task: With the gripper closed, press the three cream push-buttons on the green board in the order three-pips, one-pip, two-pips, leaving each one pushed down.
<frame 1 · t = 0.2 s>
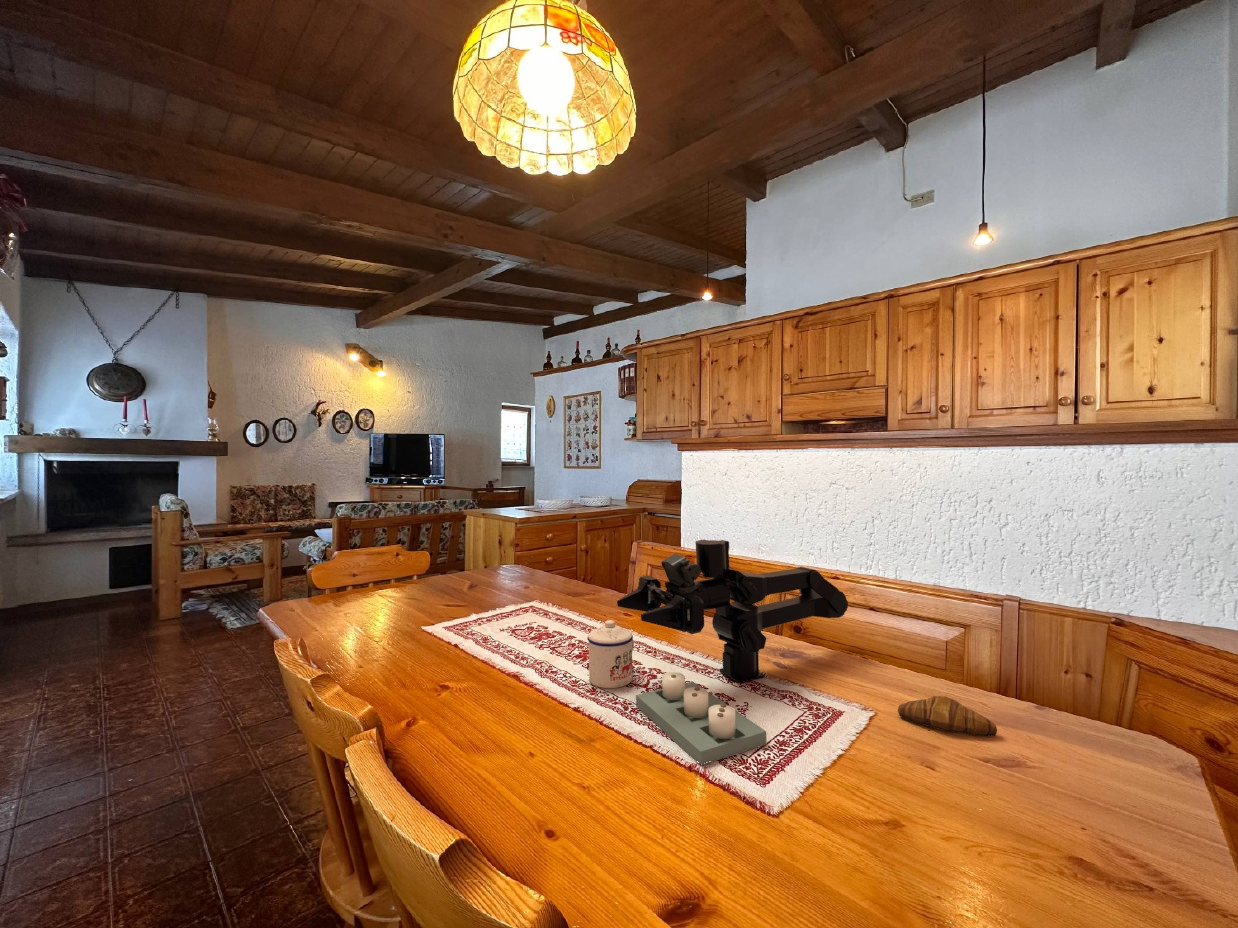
hand: (628, 610, 92), 17 cm above the table, tool horizontal, fingers open, 9 cm apart
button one: (673, 685, 91), point 4 cm above the table, slide at 0.0 cm
button three: (721, 720, 79), point 4 cm above the table, slide at 0.0 cm
button two: (696, 701, 85), point 4 cm above the table, slide at 0.0 cm
teacup with lid: (615, 677, 104), on the table
board: (696, 723, 85), on the table
croissant: (945, 728, 83), on the table
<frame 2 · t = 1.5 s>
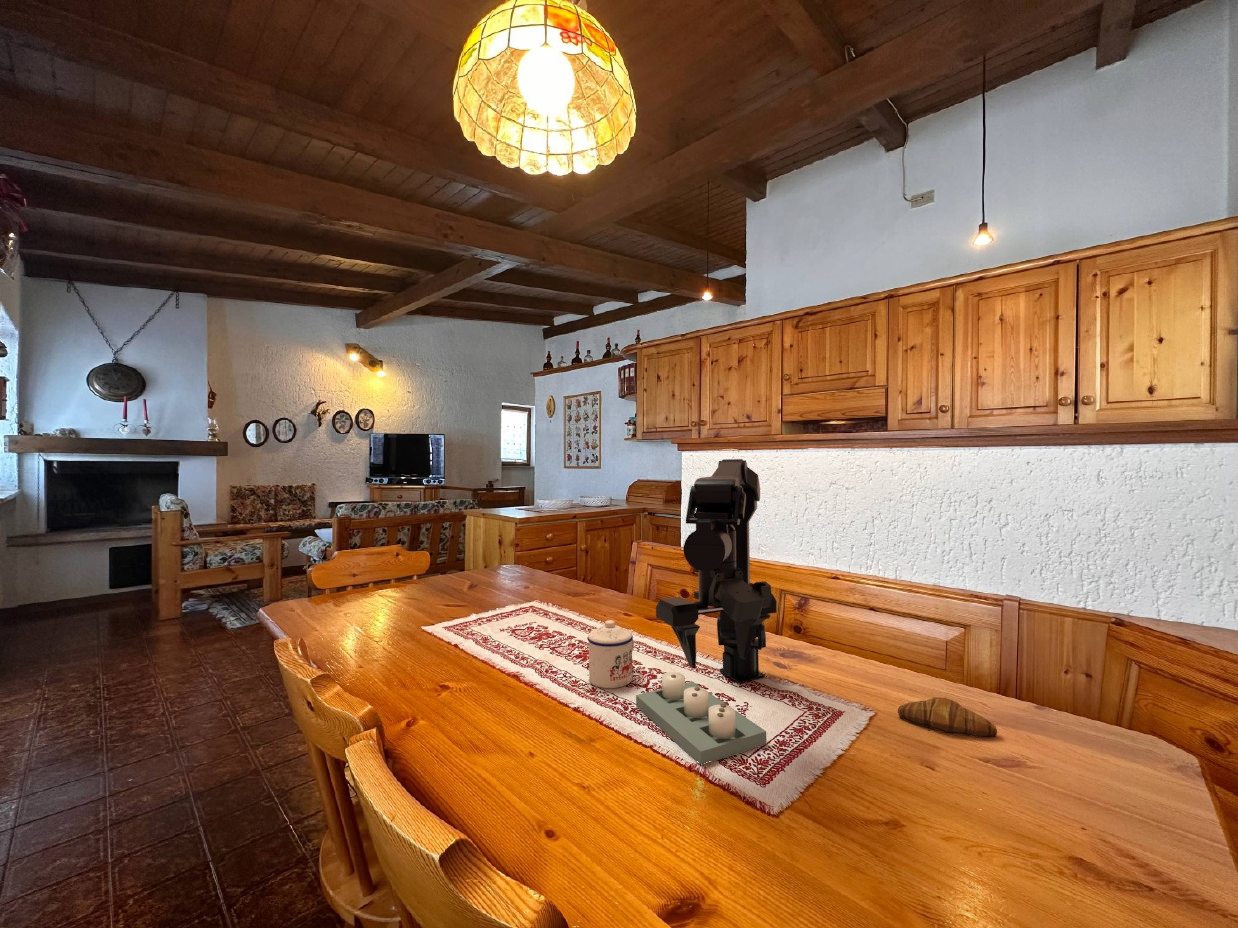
hand: (718, 662, 79), 12 cm above the table, tool pointing down, fingers open, 9 cm apart
nothing on the table moved.
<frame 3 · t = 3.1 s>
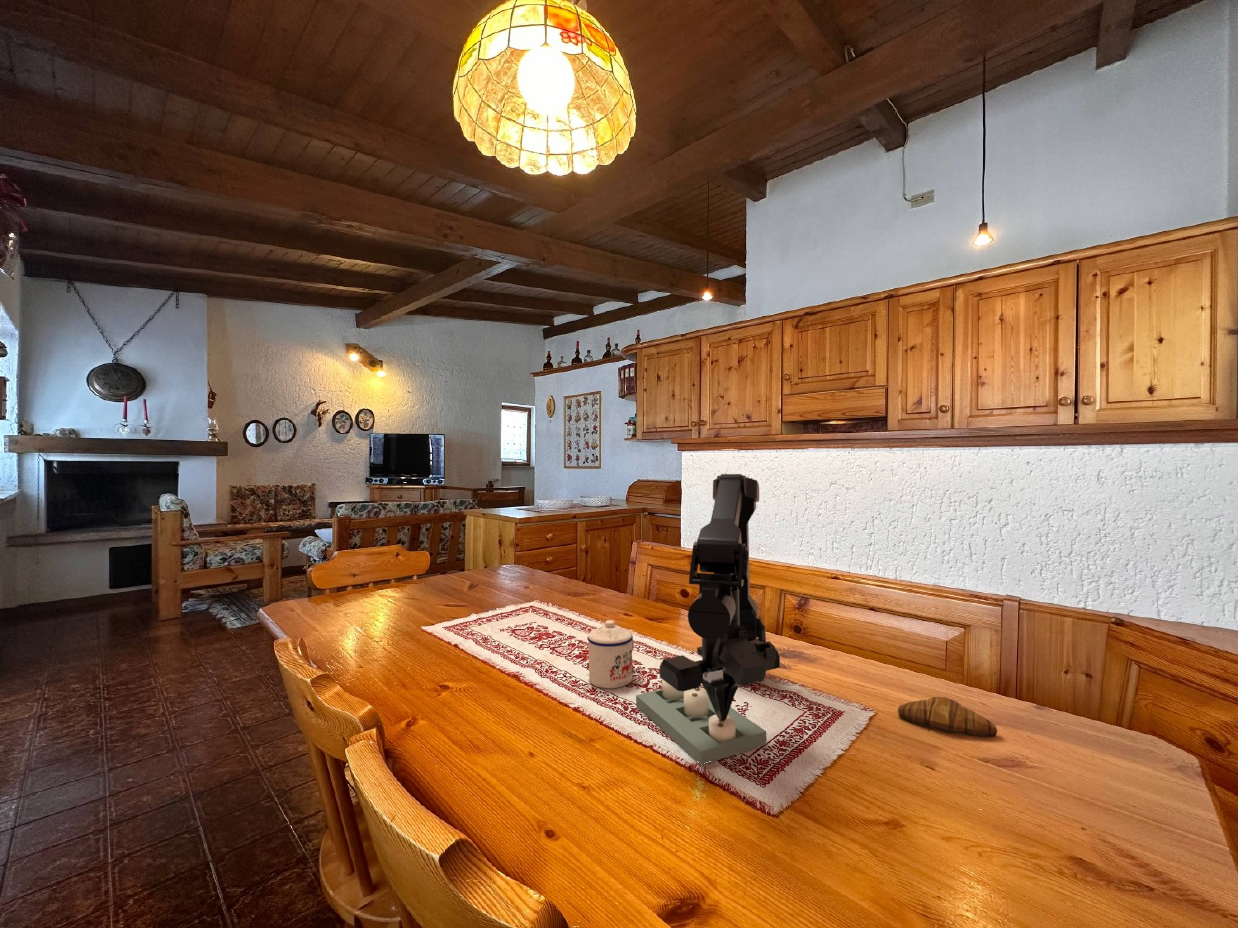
hand: (721, 719, 79), 4 cm above the table, tool pointing down, fingers closed, pressing on button three
button three: (722, 730, 79), point 2 cm above the table, slide at 1.5 cm, touching gripper
everything else where it was.
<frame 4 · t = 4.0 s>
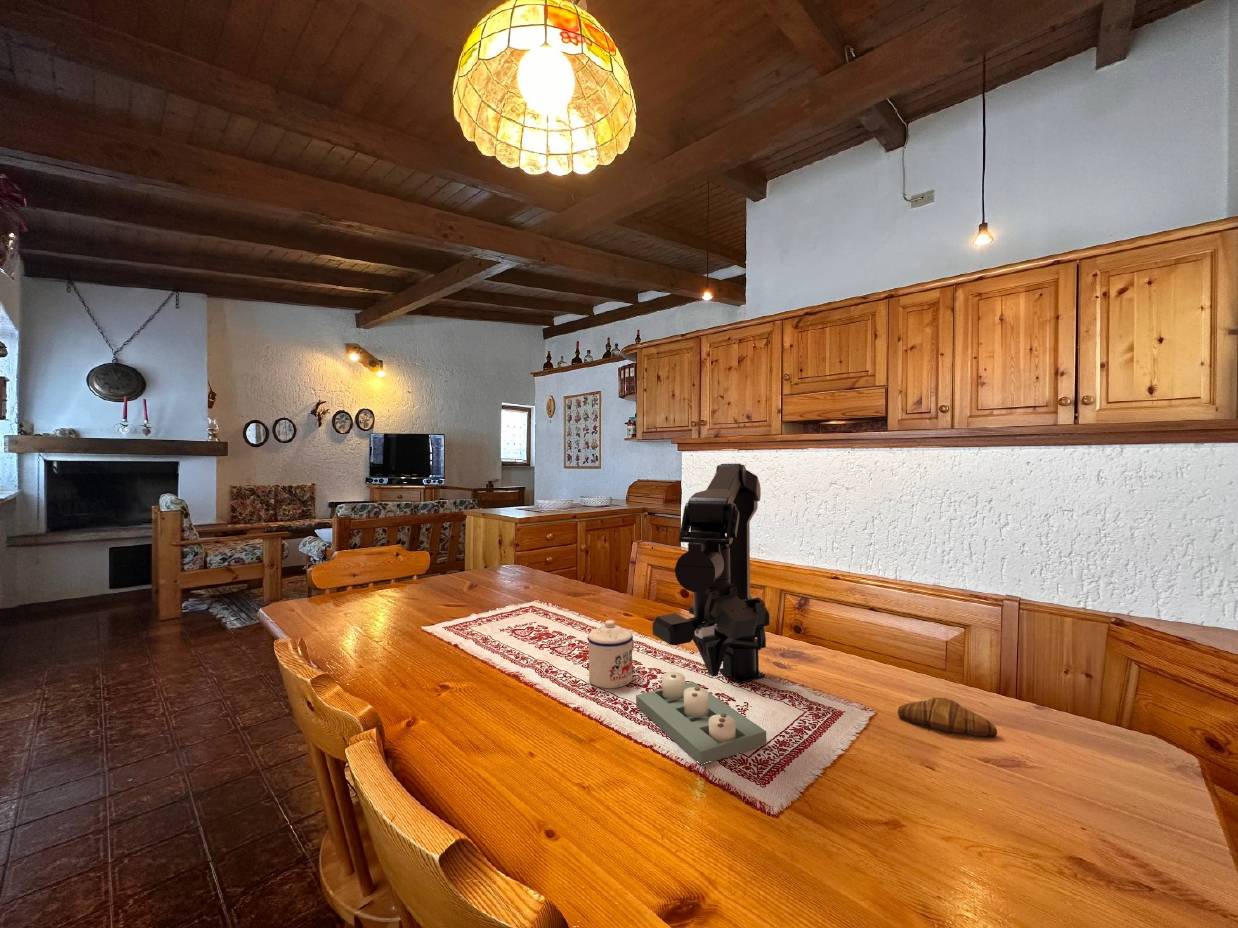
hand: (713, 675, 81), 10 cm above the table, tool pointing down, fingers closed
button three: (722, 730, 79), point 2 cm above the table, slide at 1.6 cm
everything else where it was.
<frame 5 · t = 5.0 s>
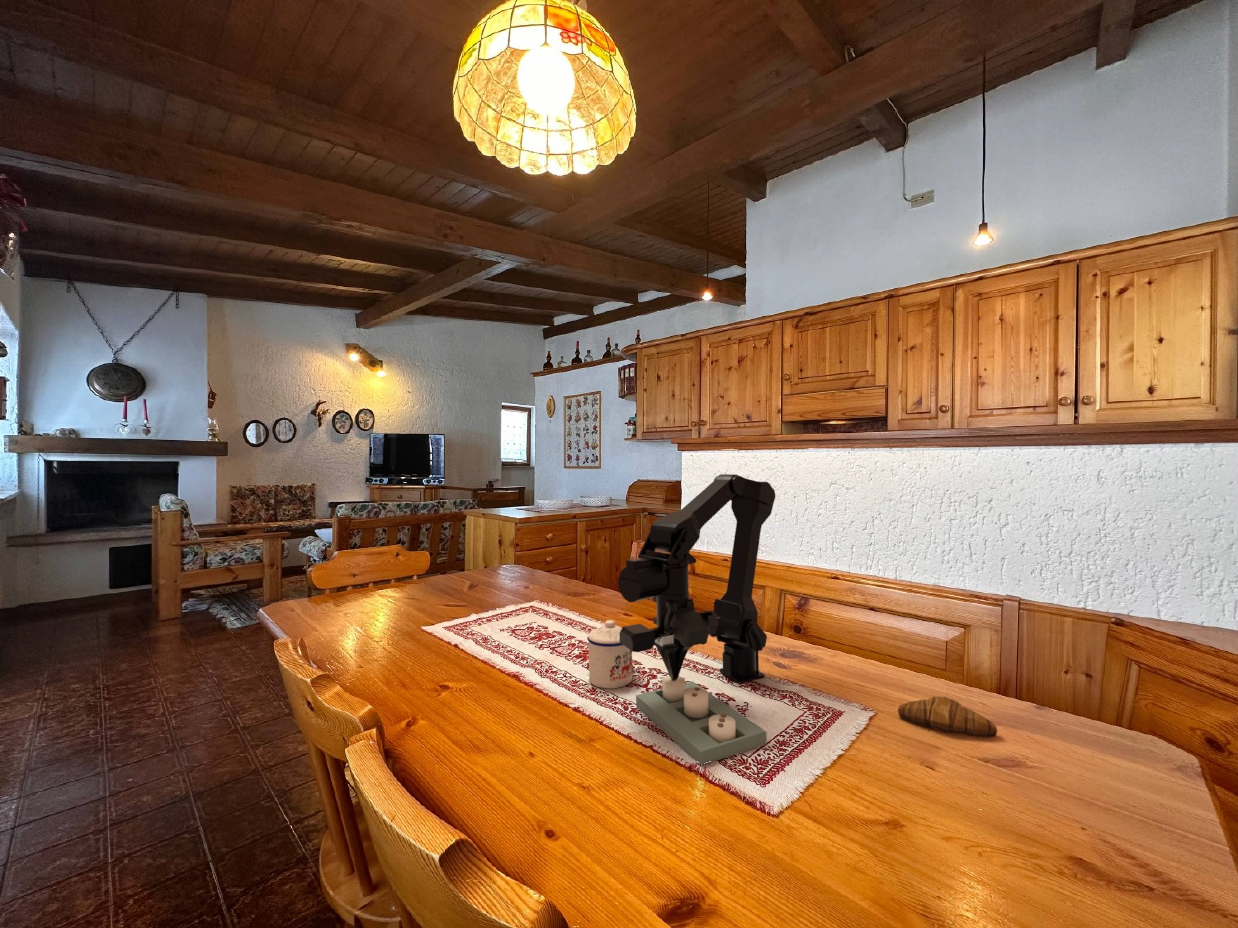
hand: (674, 678, 91), 5 cm above the table, tool pointing down, fingers closed, pressing on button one
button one: (673, 688, 91), point 3 cm above the table, slide at 0.6 cm, touching gripper
everything else where it was.
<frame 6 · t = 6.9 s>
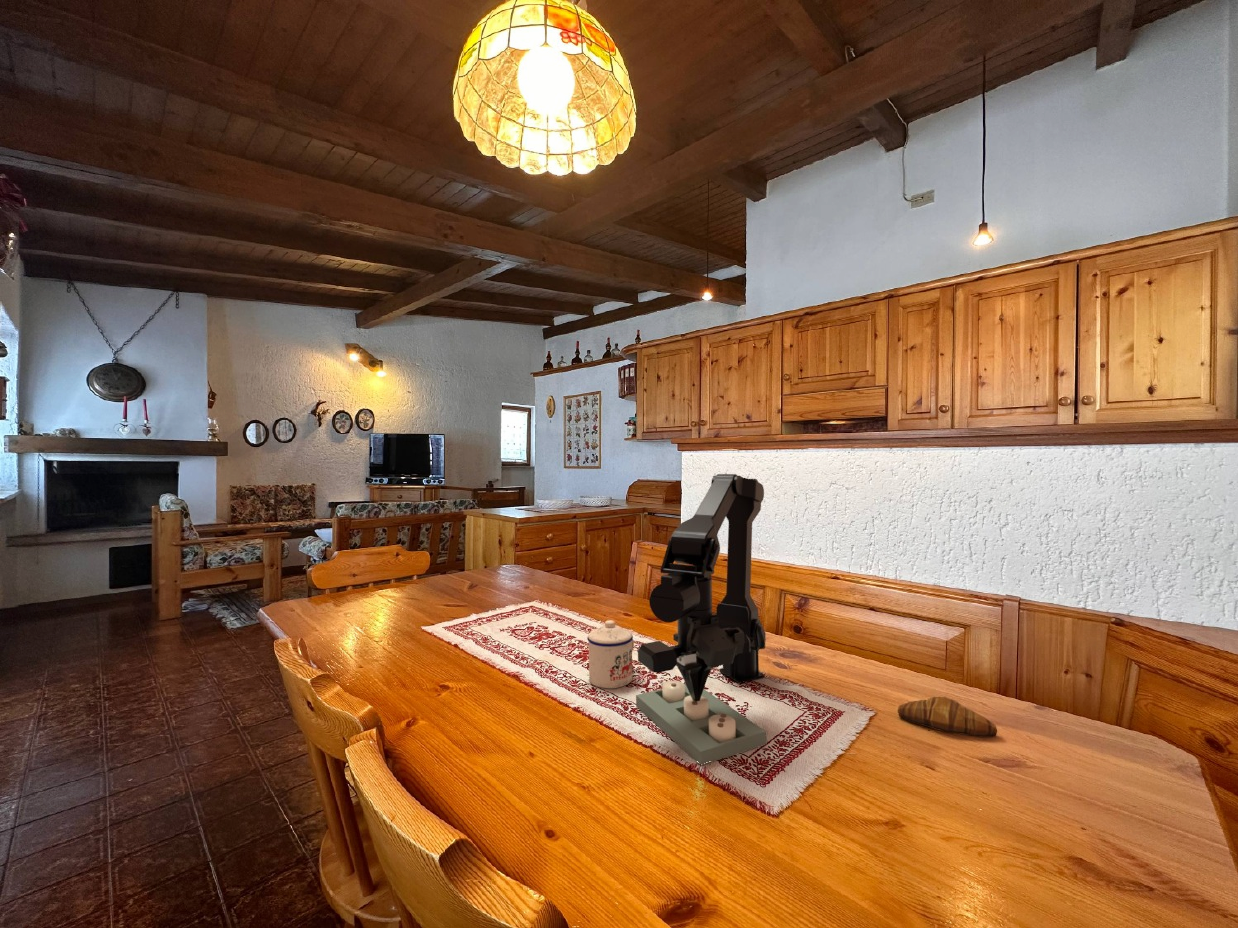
hand: (696, 700, 85), 4 cm above the table, tool pointing down, fingers closed, pressing on button two
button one: (673, 693, 91), point 2 cm above the table, slide at 1.6 cm
button two: (696, 709, 85), point 2 cm above the table, slide at 1.3 cm, touching gripper
everything else where it was.
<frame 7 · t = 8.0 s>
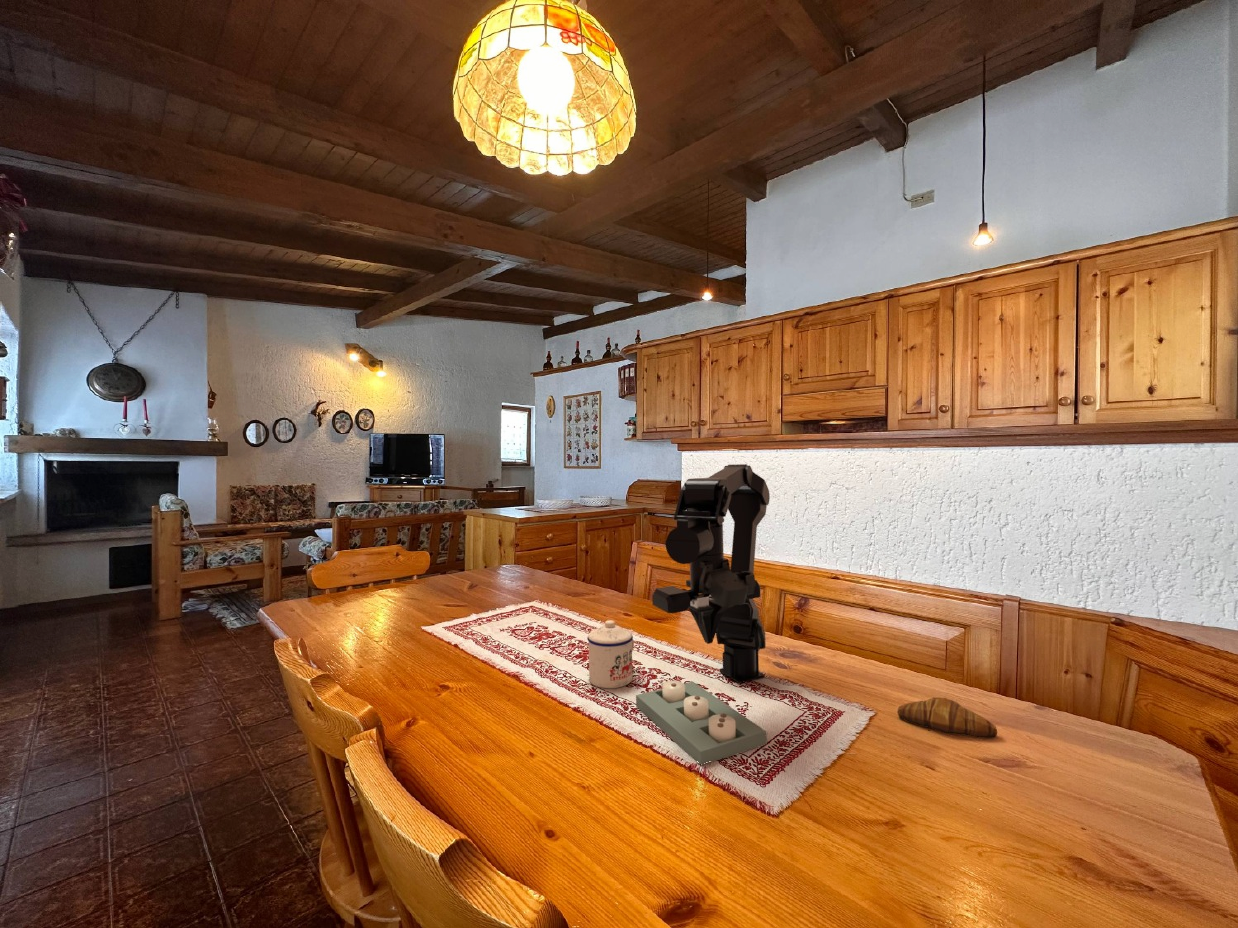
hand: (708, 642, 88), 12 cm above the table, tool pointing down, fingers closed
button two: (696, 710, 85), point 2 cm above the table, slide at 1.5 cm
everything else where it was.
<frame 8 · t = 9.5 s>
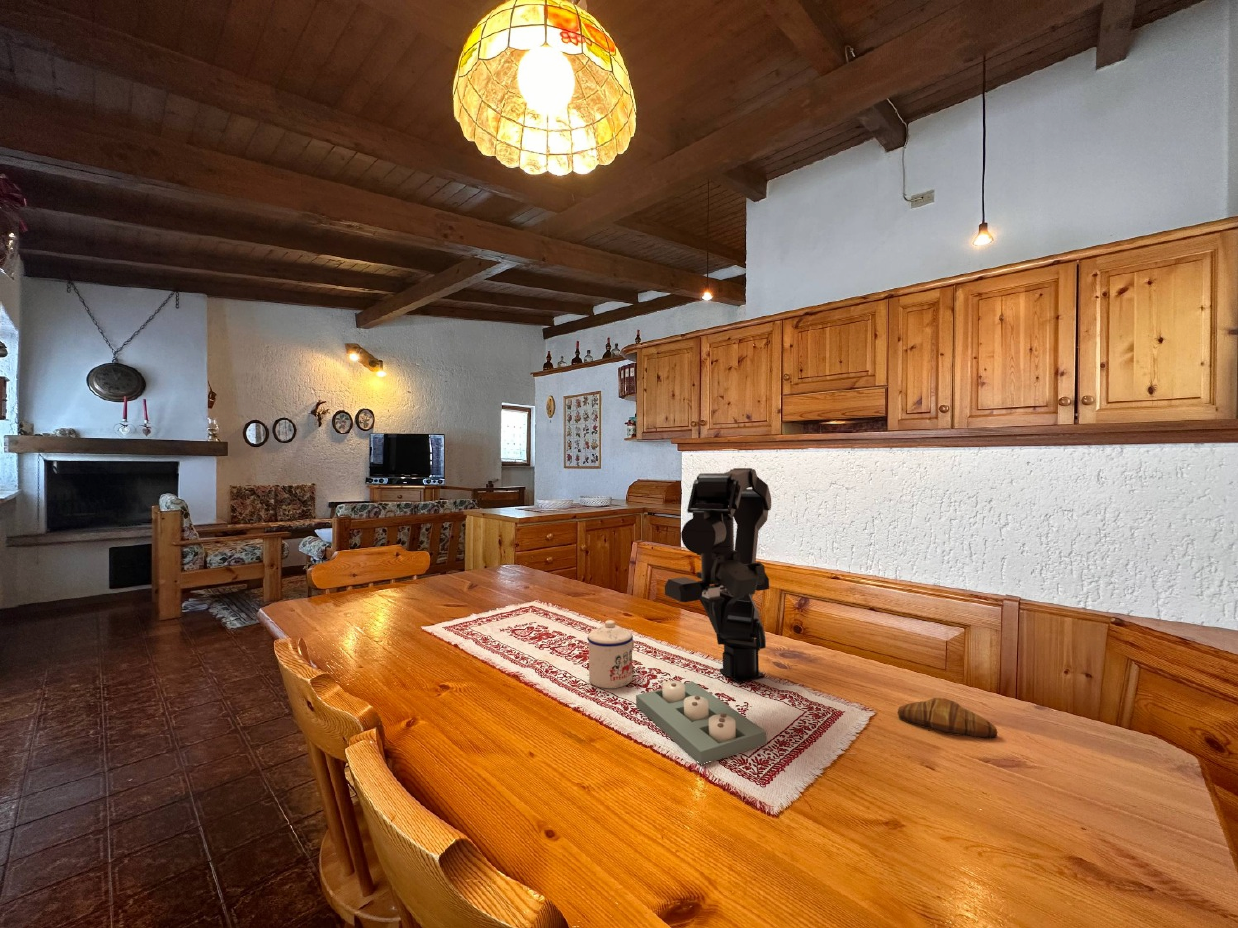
hand: (718, 633, 91), 13 cm above the table, tool pointing down, fingers closed
nothing on the table moved.
at the end: button three slide at 1.6 cm; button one slide at 1.6 cm; button two slide at 1.5 cm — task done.
